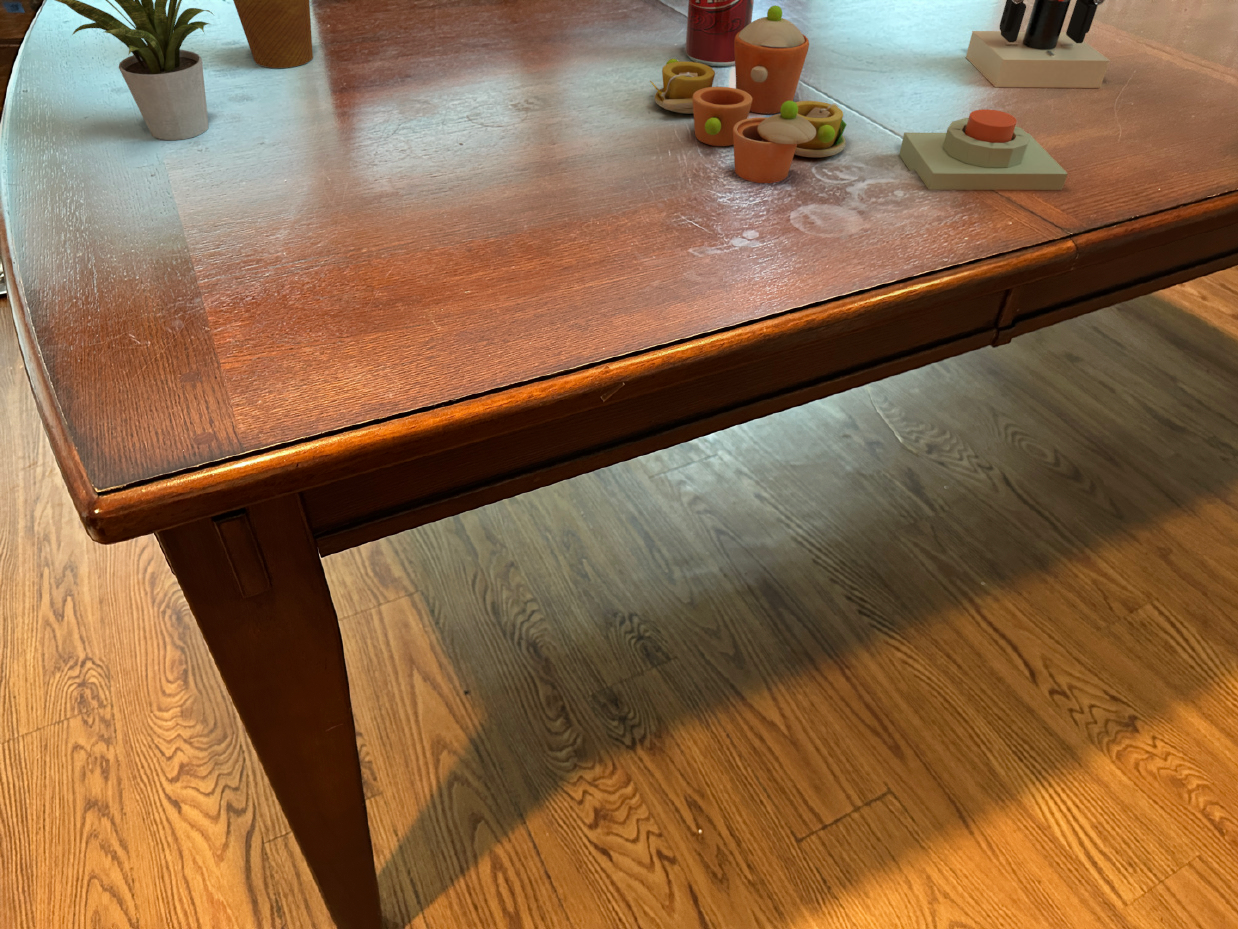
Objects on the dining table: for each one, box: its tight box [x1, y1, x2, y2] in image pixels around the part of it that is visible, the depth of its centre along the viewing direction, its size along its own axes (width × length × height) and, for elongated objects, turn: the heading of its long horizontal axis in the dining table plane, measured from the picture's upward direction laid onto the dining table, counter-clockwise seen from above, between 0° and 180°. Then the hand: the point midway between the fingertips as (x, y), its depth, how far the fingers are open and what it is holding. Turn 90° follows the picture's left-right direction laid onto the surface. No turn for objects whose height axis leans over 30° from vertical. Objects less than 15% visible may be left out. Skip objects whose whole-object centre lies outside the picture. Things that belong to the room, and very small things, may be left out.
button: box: [965, 108, 1018, 143], centre depth 82 cm, size 4×4×2 cm
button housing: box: [898, 117, 1068, 191], centre depth 84 cm, size 12×9×4 cm
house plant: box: [54, 0, 214, 141], centre depth 84 cm, size 14×14×16 cm
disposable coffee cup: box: [232, 0, 314, 69], centre depth 100 cm, size 10×10×12 cm
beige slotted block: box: [965, 30, 1111, 89], centre depth 106 cm, size 12×10×3 cm
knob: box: [1023, 0, 1072, 50], centre depth 103 cm, size 4×4×5 cm
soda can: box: [684, 0, 755, 67], centre depth 104 cm, size 7×7×12 cm
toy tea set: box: [649, 5, 848, 184], centre depth 88 cm, size 26×16×10 cm, turn 17°
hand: (1041, 37), depth 105 cm, fingers open, 7 cm apart
